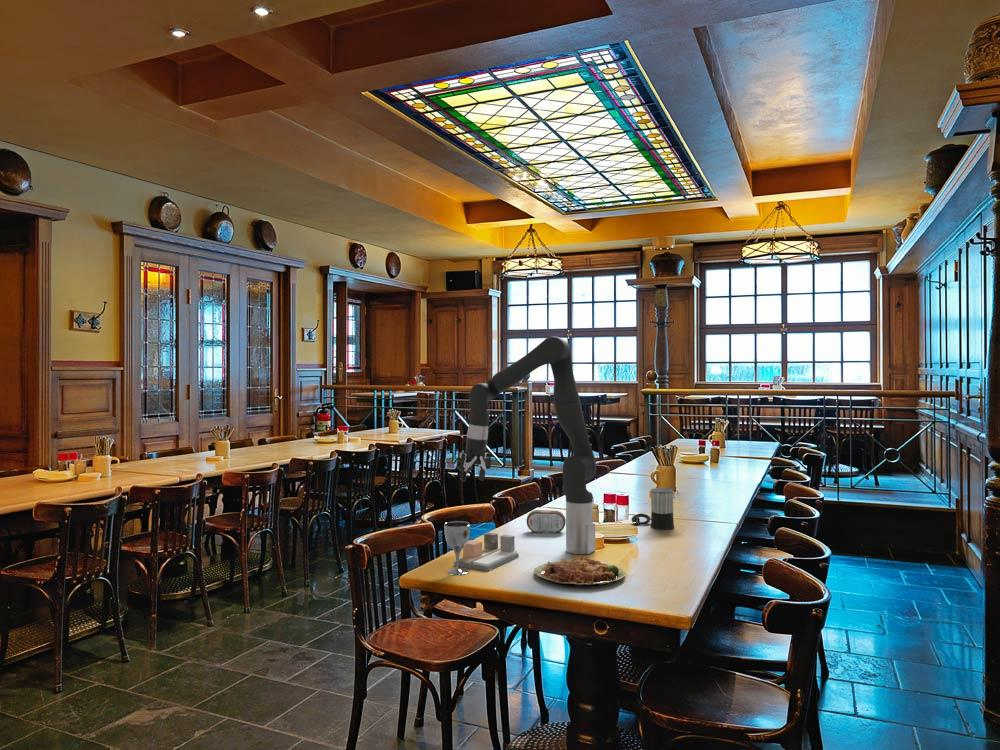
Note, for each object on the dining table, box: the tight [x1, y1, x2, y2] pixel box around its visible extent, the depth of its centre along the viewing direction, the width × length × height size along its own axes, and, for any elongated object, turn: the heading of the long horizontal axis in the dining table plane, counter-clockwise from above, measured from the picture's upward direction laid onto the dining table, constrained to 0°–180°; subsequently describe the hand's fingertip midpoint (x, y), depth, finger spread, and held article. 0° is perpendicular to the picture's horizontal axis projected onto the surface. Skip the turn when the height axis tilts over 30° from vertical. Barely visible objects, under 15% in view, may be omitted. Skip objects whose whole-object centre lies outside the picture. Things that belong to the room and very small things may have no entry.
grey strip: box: [473, 534, 517, 567], centre depth 226 cm, size 6×18×6 cm, turn 149°
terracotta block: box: [462, 539, 483, 559], centre depth 226 cm, size 4×4×4 cm
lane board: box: [453, 548, 519, 572], centre depth 227 cm, size 13×19×2 cm
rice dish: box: [533, 556, 626, 586], centre depth 211 cm, size 28×28×5 cm
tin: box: [526, 509, 566, 533], centre depth 267 cm, size 15×3×8 cm, turn 84°
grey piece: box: [459, 532, 500, 564], centre depth 229 cm, size 6×18×6 cm, turn 149°
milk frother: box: [631, 487, 675, 530], centre depth 277 cm, size 14×16×15 cm
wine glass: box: [443, 520, 471, 576], centre depth 215 cm, size 8×8×15 cm
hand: (472, 480), depth 255 cm, fingers open, 8 cm apart
